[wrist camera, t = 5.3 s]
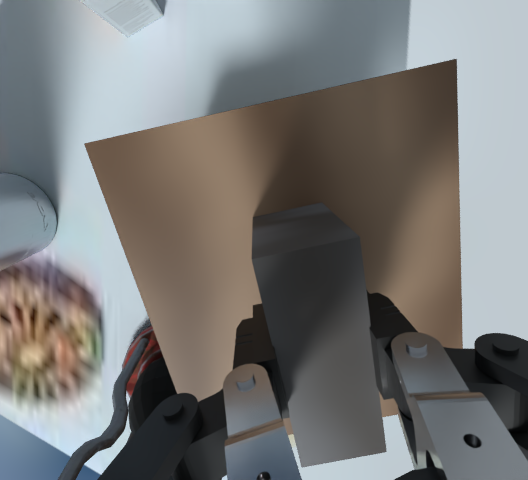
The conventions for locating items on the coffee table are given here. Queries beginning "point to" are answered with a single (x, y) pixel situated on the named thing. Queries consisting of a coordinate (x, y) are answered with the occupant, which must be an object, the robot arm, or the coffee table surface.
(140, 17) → the skincare box
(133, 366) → the hourglass
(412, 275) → the lid
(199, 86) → the coffee table surface
